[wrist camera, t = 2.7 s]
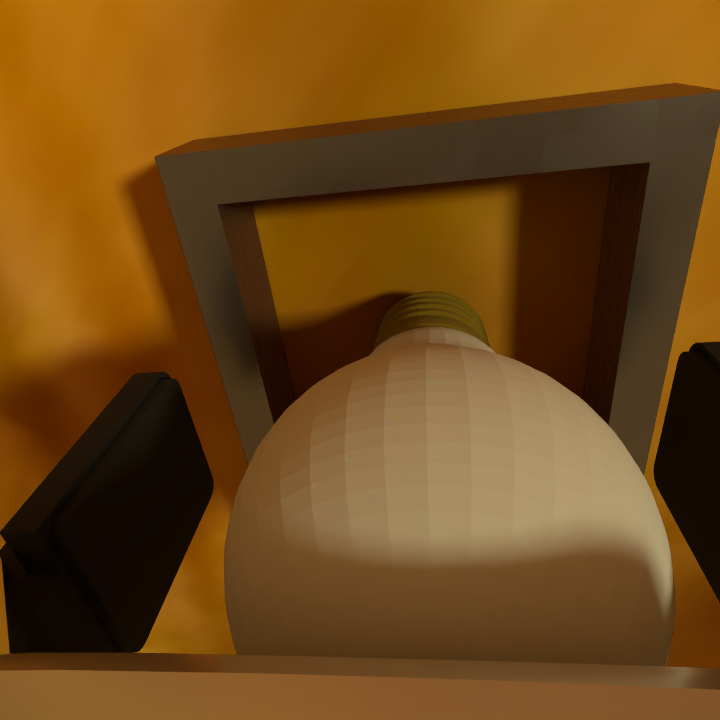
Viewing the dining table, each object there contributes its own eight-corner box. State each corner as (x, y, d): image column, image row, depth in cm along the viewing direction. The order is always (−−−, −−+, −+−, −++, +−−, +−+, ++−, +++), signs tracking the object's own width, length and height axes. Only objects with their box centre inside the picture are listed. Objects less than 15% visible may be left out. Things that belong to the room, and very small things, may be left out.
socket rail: (675, 83, 10) (725, 91, 8) (571, 698, 22) (583, 754, 20) (193, 139, 12) (154, 156, 10) (337, 687, 23) (330, 738, 22)
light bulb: (601, 291, 12) (979, 821, 4) (458, 446, 15) (500, 942, 7) (391, 160, 11) (303, 501, 3) (280, 353, 14) (75, 803, 6)
